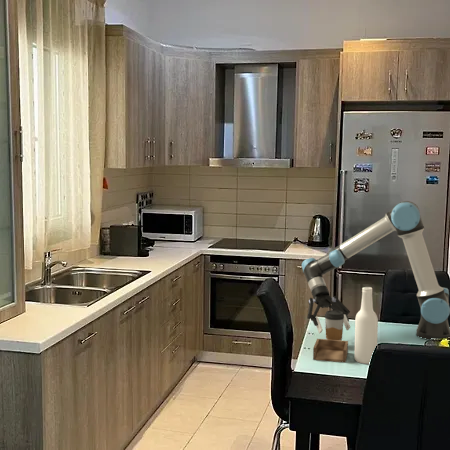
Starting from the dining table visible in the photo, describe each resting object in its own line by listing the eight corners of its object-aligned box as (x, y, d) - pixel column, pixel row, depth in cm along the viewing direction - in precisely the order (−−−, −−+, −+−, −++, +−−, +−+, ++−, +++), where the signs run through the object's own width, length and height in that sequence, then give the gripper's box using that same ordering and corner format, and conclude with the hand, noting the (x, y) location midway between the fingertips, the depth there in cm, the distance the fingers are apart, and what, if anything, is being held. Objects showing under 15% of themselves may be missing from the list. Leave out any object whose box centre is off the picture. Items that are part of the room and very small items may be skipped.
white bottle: (378, 359, 241) (380, 286, 238) (374, 365, 234) (376, 291, 230) (357, 356, 245) (359, 284, 242) (352, 362, 237) (353, 288, 234)
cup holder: (347, 352, 250) (348, 341, 249) (345, 362, 237) (345, 350, 237) (316, 349, 253) (317, 338, 253) (313, 359, 241) (313, 347, 240)
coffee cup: (344, 344, 261) (345, 310, 260) (342, 349, 253) (342, 315, 252) (325, 342, 264) (326, 309, 262) (322, 347, 256) (323, 313, 254)
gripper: (339, 291, 276) (356, 331, 264) (291, 295, 268) (306, 337, 255) (346, 282, 271) (363, 323, 258) (296, 286, 262) (312, 328, 250)
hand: (334, 330), depth 257 cm, fingers open, 13 cm apart
